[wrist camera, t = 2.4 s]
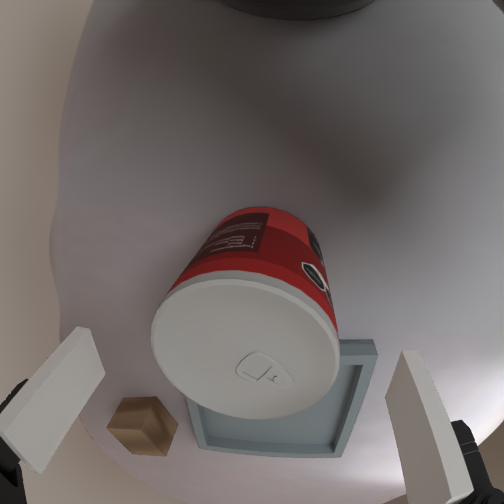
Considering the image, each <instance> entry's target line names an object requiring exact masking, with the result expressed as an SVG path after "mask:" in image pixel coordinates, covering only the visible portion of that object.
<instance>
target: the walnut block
mask: <svg viewBox="0 0 504 504" xmlns="http://www.w3.org/2000/svg"><path fill="white" fill-rule="evenodd" d="M177 426H178V423H177V422H176V421H175V419H174V418H173V417H172V416H171V415H170V413H169V412H168V411H167V410H166V408H165V407H164V406H163V405H162V403H161V402H160V401H159V399H158V398H157V397H156V396H155V397H136V398H123V400H122V401H121V403H120V405H119V407H118V408H117V410H116V412H115V414H114V415H113V417H112V419H111V421H110V422H109V424H108V426H107V429H108V430H109V431H110V432H111V433H112V434H113V435H114V436H115V437H116V438H117V439H118V440H119V442H120V443H121V444H123V445H124V446H125V447H126V448H127V449H128V450H129V451H130V452H131V453H132V454H139V455H151V456H167V453H168V450H169V448H170V445H171V442H172V440H173V437H174V434H175V432H176V429H177Z"/></svg>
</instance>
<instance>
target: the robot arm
mask: <svg viewBox="0 0 504 504" xmlns="http://www.w3.org/2000/svg"><path fill="white" fill-rule="evenodd" d="M218 1H220V2H222V3H224V4H226V5H228V6H230V7H233V8H235V9H238V10H241V11H243V12H247V13H250V14H254V15H259V16H264V17H269V18H277V19H288V20H310V19H322V18H329V17H334V16H338V15H342V14H346V13H349V12H352V11H355V10H357V9H359V8H361V7H363V6H365V5H367V4H369V3H371V2H372V1H373V0H218ZM492 1H493V2H494V3H495V4H496V6H497V7H498V8H499V9H500V10H501V11H502V12H503V14H504V0H492ZM105 374H106V373H105V371H104V368H103V365H102V363H101V360H100V357H99V354H98V352H97V349H96V346H95V343H94V340H93V337H92V334H91V331H90V329H88V328H83V327H78V326H77V327H76V328H75V329H74V330H73V331H72V332H71V333H70V335H69V336H68V337H67V338H66V339H65V340H64V341H63V342H62V343H61V344H60V345H59V346H58V348H57V349H56V350H55V351H54V352H53V353H52V354H51V355H50V356H49V357H48V358H47V360H46V361H45V362H44V363H43V364H42V365H41V366H40V367H39V369H38V370H37V371H36V372H35V373H34V374H33V375H32V377H31V378H30V379H25V380H24V381H22V382H21V383H19V384H18V385H17V386H16V387H15V388H14V390H13V391H12V392H11V394H9V395H8V397H7V398H6V400H4V401H3V402H2V404H1V405H0V504H27V501H26V496H25V490H24V485H23V478H22V470H21V467H20V465H19V464H18V463H19V461H20V460H21V461H22V462H23V463H24V464H25V465H26V466H27V467H28V468H29V469H31V470H33V471H34V472H36V473H38V474H40V475H41V474H42V472H43V471H44V469H45V467H46V466H47V464H48V462H49V461H50V459H51V458H52V456H53V454H54V452H55V451H56V449H57V448H58V446H59V445H60V443H61V441H62V440H63V438H64V437H65V435H66V433H67V432H68V430H69V429H70V427H71V426H72V424H73V423H74V421H75V419H76V418H77V416H78V415H79V413H80V412H81V410H82V409H83V407H84V406H85V404H86V403H87V401H88V400H89V398H90V397H91V395H92V394H93V392H94V391H95V389H96V388H97V386H98V385H99V383H100V382H101V380H102V379H103V377H104V376H105ZM385 399H386V403H387V407H388V410H389V414H390V418H391V422H392V426H393V431H394V435H395V439H396V443H397V448H398V452H399V457H400V461H401V466H402V471H403V476H404V481H405V486H406V492H407V498H408V503H409V504H504V493H503V492H502V491H501V490H499V489H496V488H493V486H492V484H491V483H490V480H489V477H488V474H487V471H486V468H485V465H484V463H483V460H482V457H481V455H480V452H478V447H477V444H476V443H475V439H474V437H473V434H472V432H471V429H470V428H469V427H468V426H467V425H466V424H465V423H464V422H463V421H462V420H458V421H453V422H450V420H449V417H448V415H447V412H446V410H445V408H444V405H443V403H442V400H441V398H440V396H439V393H438V391H437V389H436V386H435V384H434V382H433V380H432V377H431V375H430V373H429V371H428V369H427V366H426V364H425V362H424V360H423V358H422V356H421V354H420V352H419V350H402V351H401V355H400V358H399V361H398V363H397V366H396V369H395V372H394V375H393V378H392V380H391V383H390V386H389V388H388V391H387V393H386V396H385Z"/></svg>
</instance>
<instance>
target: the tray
mask: <svg viewBox="0 0 504 504" xmlns="http://www.w3.org/2000/svg"><path fill="white" fill-rule="evenodd" d="M339 344H340V359H339V370H338V373H337V377H336V380H335V382H334V383H333V385H332V387H331V388H330V390H329V391H328V392H327V393H326V394H325V395H324V396H323V397H322V398H321V399H320V400H319V401H318V402H317V403H315V404H314V405H312V406H311V407H309V408H307V409H305V410H303V411H301V412H298V413H296V414H294V415H290V416H286V417H282V418H276V419H266V420H253V419H242V418H236V417H231V416H227V415H224V414H220V413H217V412H214V411H212V410H210V409H207V408H205V407H203V406H201V405H199V404H197V403H196V402H194V401H192V400H191V399H189V398H188V397H186V400H187V404H188V409H189V413H190V417H191V421H192V424H193V428H194V432H195V436H196V439H197V443H198V447H199V448H201V449H207V450H214V451H221V452H228V453H236V454H246V455H257V456H270V457H291V458H336V457H341V456H342V454H343V451H344V449H345V447H346V444H347V442H348V439H349V437H350V435H351V432H352V429H353V427H354V424H355V422H356V419H357V416H358V414H359V411H360V408H361V406H362V403H363V400H364V397H365V394H366V391H367V388H368V385H369V382H370V379H371V376H372V373H373V369H374V366H375V363H376V360H377V356H378V354H377V351H376V347H375V344H374V341H373V340H339Z"/></svg>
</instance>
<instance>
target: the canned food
mask: <svg viewBox="0 0 504 504" xmlns="http://www.w3.org/2000/svg"><path fill="white" fill-rule="evenodd" d="M150 341H151V347H152V352H153V355H154V357H155V360H156V362H157V364H158V366H159V368H160V369H161V371H162V372H163V374H164V375H165V377H166V378H167V379H168V380H169V381H170V382H171V383H172V385H173V386H174V387H175V388H176V389H178V390H179V391H180V392H181V393H183V394H184V395H185V396H186V397H188V398H189V399H191V400H192V401H194V402H196V403H197V404H199V405H201V406H203V407H205V408H207V409H210V410H212V411H214V412H217V413H220V414H224V415H227V416H231V417H236V418H242V419H253V420H266V419H276V418H282V417H286V416H290V415H294V414H296V413H298V412H301V411H303V410H305V409H307V408H309V407H311V406H312V405H314V404H315V403H317V402H318V401H319V400H320V399H321V398H322V397H323V396H324V395H325V394H326V393H327V392H328V391H329V390H330V388H331V387H332V385H333V383H334V382H335V380H336V377H337V373H338V370H339V359H340V344H339V338H338V329H337V324H336V319H335V314H334V309H333V304H332V299H331V294H330V290H329V285H328V280H327V276H326V271H325V267H324V263H323V258H322V254H321V250H320V247H319V244H318V242H317V240H316V238H315V236H314V234H313V233H312V232H311V231H310V230H309V228H308V227H307V226H306V225H305V224H304V223H303V222H301V221H300V220H299V219H298V218H296V217H294V216H293V215H291V214H289V213H287V212H285V211H282V210H279V209H275V208H269V207H250V208H247V209H243V210H239V211H237V212H235V213H233V214H231V215H229V216H228V217H227V218H226V219H224V220H223V221H222V222H221V223H220V224H219V225H218V227H217V228H216V229H215V231H214V232H213V233H212V234H211V236H210V237H209V238H208V240H207V241H206V242H205V243H204V245H203V246H202V247H201V249H200V250H199V251H198V253H197V254H196V255H195V257H194V258H193V259H192V261H191V262H190V263H189V265H188V266H187V267H186V269H185V270H184V271H183V273H182V274H181V275H180V277H179V278H178V279H177V281H176V282H175V283H174V285H173V286H172V287H171V289H170V290H169V292H168V293H167V295H166V297H165V298H164V299H163V301H162V302H161V304H160V305H159V308H158V311H157V312H156V314H155V317H154V320H153V322H152V325H151V335H150Z"/></svg>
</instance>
